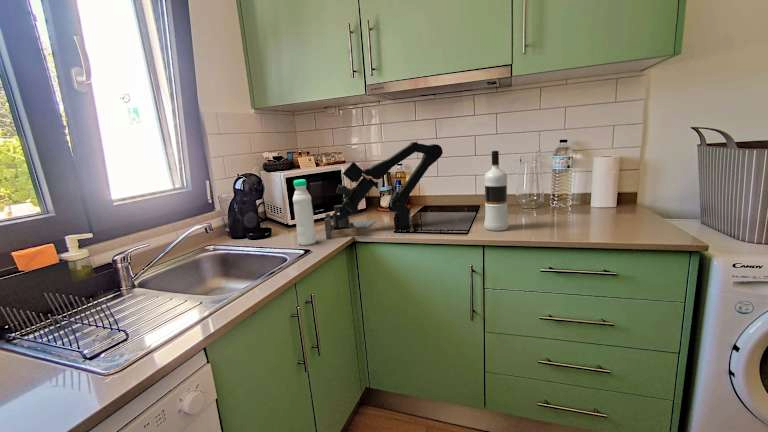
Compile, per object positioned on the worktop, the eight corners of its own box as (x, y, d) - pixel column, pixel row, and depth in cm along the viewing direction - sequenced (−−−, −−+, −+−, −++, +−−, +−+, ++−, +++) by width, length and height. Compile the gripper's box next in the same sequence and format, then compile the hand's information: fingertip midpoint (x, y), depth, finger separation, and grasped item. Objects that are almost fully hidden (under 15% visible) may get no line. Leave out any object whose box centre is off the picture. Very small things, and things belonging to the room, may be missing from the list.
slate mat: (375, 221, 174) (375, 220, 174) (367, 228, 163) (367, 227, 163) (351, 221, 178) (351, 221, 178) (342, 228, 167) (342, 227, 167)
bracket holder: (356, 228, 164) (354, 210, 162) (357, 236, 151) (355, 216, 150) (327, 231, 163) (325, 213, 161) (326, 239, 150) (324, 219, 149)
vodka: (481, 231, 144) (479, 152, 138) (487, 225, 152) (485, 150, 145) (506, 232, 139) (505, 150, 133) (511, 226, 147) (510, 149, 141)
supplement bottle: (353, 231, 159) (350, 204, 156) (345, 236, 153) (342, 207, 150) (339, 231, 162) (336, 204, 159) (331, 235, 156) (328, 207, 153)
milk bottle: (308, 246, 142) (299, 181, 137) (294, 244, 146) (286, 181, 140) (320, 241, 148) (312, 178, 143) (307, 240, 151) (299, 178, 146)
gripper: (346, 175, 162) (323, 202, 163) (346, 179, 144) (321, 210, 145) (365, 191, 164) (343, 218, 165) (368, 198, 146) (343, 228, 147)
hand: (337, 218), depth 156 cm, fingers closed on supplement bottle, 7 cm apart
